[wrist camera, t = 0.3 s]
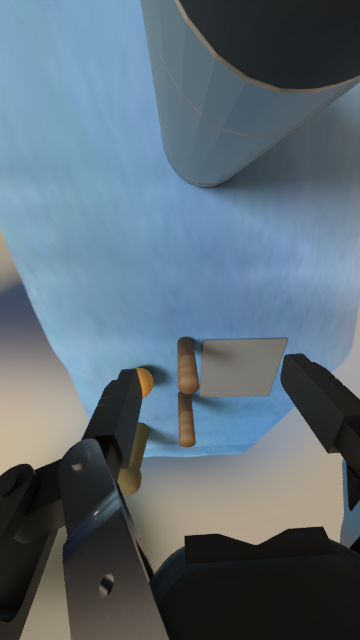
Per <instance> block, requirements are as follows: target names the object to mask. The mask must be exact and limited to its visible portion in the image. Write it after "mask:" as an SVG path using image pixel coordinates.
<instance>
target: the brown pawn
mask: <svg viewBox="0 0 360 640" xmlns="http://www.w3.org/2000/svg"><path fill="white" fill-rule="evenodd" d="M149 430H150V429H149V427H148V426H147V425H145V424H143V423H140V422H138V423H137V428H136V433H135V438H134V443H133V448H132V453H131V458H130V463H129V468H124V469H120V473H119V477H118V483H119V486H120V488H121V491H122V493H123V495H131V494H134V493H135V492H137V491H138V489H139V487H140V485H141V472H140V467H141V463H142V459H143V455H144V451H145V447H146V443H147V439H148V435H149Z"/></svg>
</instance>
